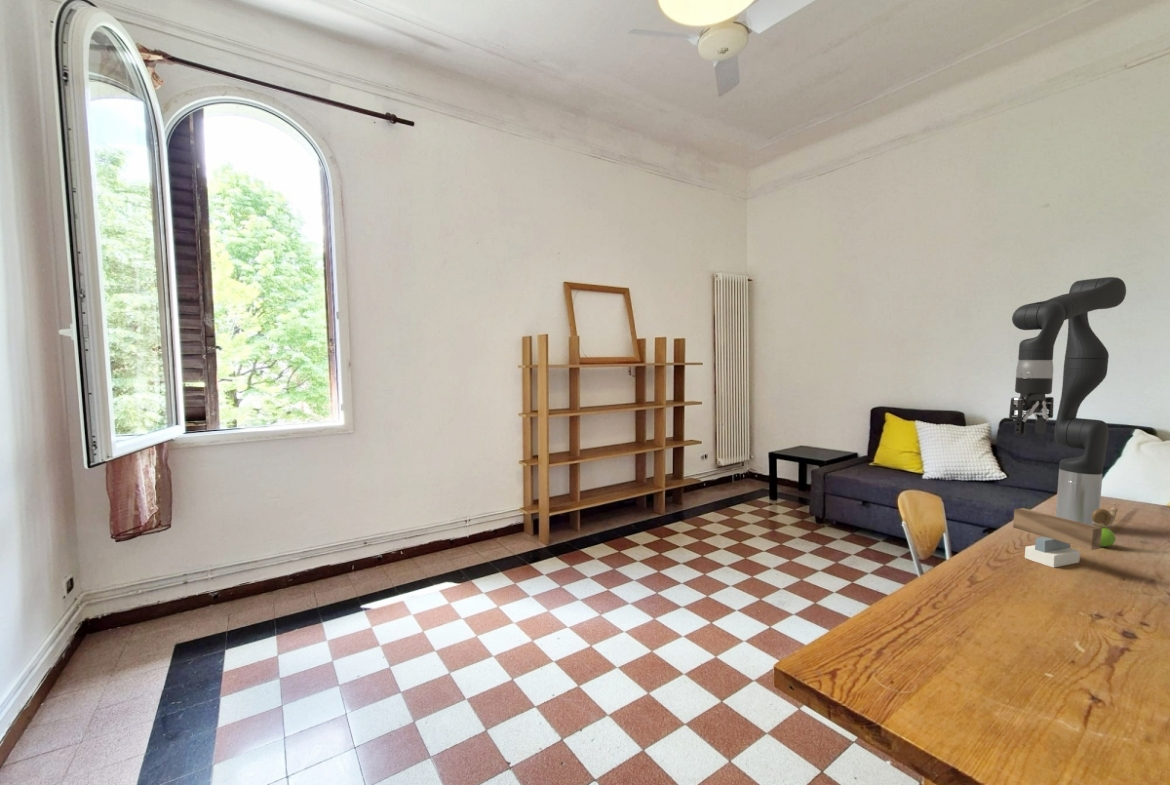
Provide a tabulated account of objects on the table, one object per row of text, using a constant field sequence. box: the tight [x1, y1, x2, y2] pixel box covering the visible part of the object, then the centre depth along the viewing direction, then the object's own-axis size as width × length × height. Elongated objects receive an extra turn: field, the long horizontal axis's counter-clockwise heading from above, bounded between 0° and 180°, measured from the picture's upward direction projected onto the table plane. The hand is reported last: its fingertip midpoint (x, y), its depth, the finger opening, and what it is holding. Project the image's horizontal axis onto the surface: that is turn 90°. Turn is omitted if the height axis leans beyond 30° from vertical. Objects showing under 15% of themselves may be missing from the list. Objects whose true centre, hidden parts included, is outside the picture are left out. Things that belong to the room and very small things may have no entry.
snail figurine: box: [1091, 502, 1120, 548], centre depth 132 cm, size 5×6×12 cm
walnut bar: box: [1012, 507, 1102, 551], centre depth 122 cm, size 4×16×5 cm, turn 18°
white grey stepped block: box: [1024, 536, 1081, 568], centre depth 122 cm, size 10×6×6 cm, turn 108°
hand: (1029, 434), depth 135 cm, fingers open, 8 cm apart
